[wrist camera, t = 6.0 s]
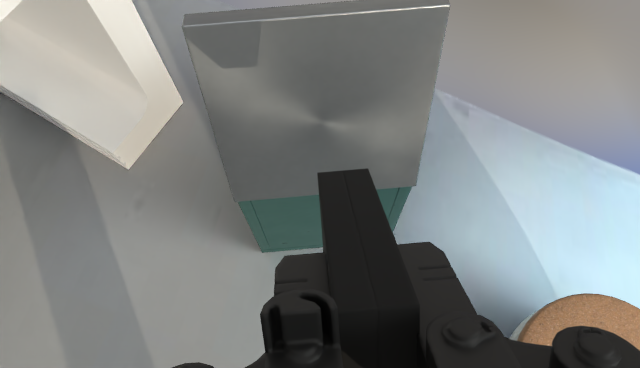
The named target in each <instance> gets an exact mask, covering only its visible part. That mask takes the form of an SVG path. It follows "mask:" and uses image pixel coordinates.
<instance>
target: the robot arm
mask: <svg viewBox="0 0 640 368" xmlns="http://www.w3.org/2000/svg"><path fill="white" fill-rule="evenodd" d="M317 177H318V189H319V202H320V215H321V228H322V240H323V253H313V254H301V255H290V256H284V258H283V259H282V260H281V262H280V263H279V264H278V266H277V267H276V269H275V286H274V297H272V298H271V299H270V300H269V301H268V302H267V303H266V304H265V305H264V306H263V309H262V311H261V314H260V317H261V324H262V331H263V338H264V345H265V353H264V354H263V355H262V356H261V357H260V358H259V359H258V360H257V361H255V362H254V363H252V364H251V365H249V366H247V367H245V368H640V350H639V349H637V348H636V347H635V346H633V345H632V344H631V343H630V342H628V341H626V340H625V339H623V338H621V337H620V336H618V335H616V334H615V333H612V332H609V331H606V330H603V329H600V328H597V327H589V326H574V327H567V328H565V329H563V330H561V331H559V332H557V334H556V335H555V337H554V339H553V341H552V346H547V345H539V344H532V343H525V342H520V341H515V340H511V339H509V338H506V337H504V336H503V334H502V332H501V331H500V330H499V329H498V327H497V326H496V325H495V324H494V323H493V322H492V321H490V320H488V319H486V318H484V317H483V316H481V315H477V313H476V311H475V310H474V308H473V306H472V304H471V302H470V300H469V298H468V296H467V295H466V293H465V291H464V289H463V287H462V285H461V283H460V282H459V280H458V278H456V274H455V272H454V270H453V268H452V267H451V265H450V263H449V261H448V259H447V257H446V255H445V254H444V252H443V251H442V250H440V249H439V248H437V247H436V246H434V245H433V244H432V243H430V242H422V243H411V244H399V245H397V243H396V240H395V238H394V235H393V233H392V230H391V227H390V225H389V222H388V219H387V217H386V214H385V212H384V209H383V206H382V204H381V201H380V198H379V196H378V193H377V190H376V188H375V185H374V183H373V180H372V177H371V175H370V172H369V169H368V168H366V169H354V170H342V171H330V172H318V173H317ZM172 368H214V367H213V366H211V365H207V364H203V363H184V364H181V365H178V366H175V367H172Z"/></svg>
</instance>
